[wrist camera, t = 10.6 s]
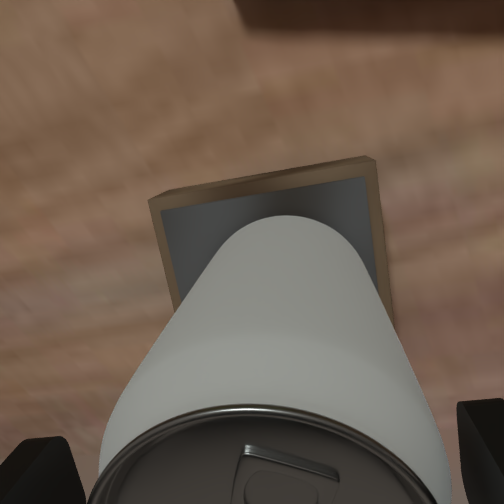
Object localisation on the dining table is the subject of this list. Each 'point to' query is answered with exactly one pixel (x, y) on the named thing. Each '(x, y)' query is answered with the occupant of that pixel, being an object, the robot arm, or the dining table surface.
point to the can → (275, 388)
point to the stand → (268, 205)
